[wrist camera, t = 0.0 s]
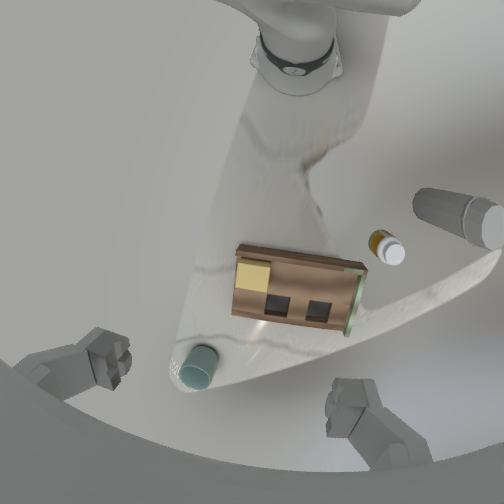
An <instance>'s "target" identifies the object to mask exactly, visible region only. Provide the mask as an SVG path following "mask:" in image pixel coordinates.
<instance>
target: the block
mask: <svg viewBox="0 0 504 504" xmlns="http://www.w3.org/2000/svg"><path fill="white" fill-rule="evenodd" d="M271 264H272V261H268V260H262V259H255V258H248V257H241V258H240V260H239V262H238V266H237V276H236V286H235V288H241V289H247V290H254V291H260V292H266V293H267V288H268V284H269V277H270V270H271Z"/></svg>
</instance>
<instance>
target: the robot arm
mask: <svg viewBox="0 0 504 504" xmlns="http://www.w3.org/2000/svg"><path fill="white" fill-rule="evenodd" d="M215 1H218V2H221V3H224V4H226V5H229V6H231V7H233V8H235V9H237V10H239V11H240V12H242V13H244V14H245V15H247V16H248V17H250V18H251V19H253V20H254V21H255V22H256V23H257V24H258V26H259V31H260V36H258V37H257V39H256V42H257V43H256V46H255V48H254V51H253V53H252V56H251V59H250V63H251V65H252V66H253V67H255V68H256V69H257V70H259V71H260V72H261V73H262V74H263V76H264V78H265V79H266V81H267V82H268V83H269V84H270V85H271V86H272V87H274V88H275V89H277V90H278V91H280V92H283V93H285V94H289V95H296V96H302V95H308V94H312V93H314V92H317V91H318V90H320V89H321V88H323V87H324V86H325V85H326V84H327V83H328V82H329V81H330V80H332V79H335V78H338V77H340V76H341V75H342V73H343V69H342V63H341V57H340V52H339V47H338V42H337V37H336V32H335V31H336V28H337V24H338V17H337V13H336V10H335V8H334V7H337V8H342V9H347V10H352V11H356V12H364V13H373V14H381V15H390V16H402V15H405V14H407V13H409V12H410V11H412V10H413V9H414V8H415V7H416V6H417V5H418V4H419V2H420V1H421V0H215ZM336 66H338V67H336ZM129 346H130V344H129V339H128V338H127V337H125V336H122V335H119V334H116V333H114V332H111V331H108V330H105V329H102V328H99V327H96V328H94V329H93V330H92V331H91V332H90V333H89V334H87V335H86V336H85V337H84V338H83V339H82V340H80V341H79V342H78V343H77V344H76V345H73V344H71V345H66V346H62V347H58V348H54V349H50V350H46V351H42V352H37V353H34V354H29V355H27V356H26V357H25V358H23V359H22V360H21V361H20V362H19V363H17V365H15V366H14V367H13V368H11V367H10V366H9V365H7V364H6V363H5V362H4V361H2V360H1V359H0V504H504V442H502V443H498V444H494V445H492V446H489V447H486V448H483V449H480V450H477V451H474V452H471V453H468V454H464V455H461V456H457V457H453V458H449V459H446V460H441V461H436V462H433V459H432V456H431V453H430V450H429V447H428V445H427V442H426V439H424V438H423V437H422V436H421V435H419V434H418V433H417V432H416V431H414V430H413V429H412V428H411V427H409V426H408V425H407V424H406V423H405V422H403V421H402V420H401V419H400V418H398V417H397V416H396V415H395V414H393V413H392V412H391V411H390V410H389V409H387V408H386V407H384V408H383V406H382V403H381V400H380V397H379V394H378V391H377V387H376V384H375V381H374V380H373V379H351V378H335V380H334V381H333V384H332V390H333V391H331V392H330V393H329V394H328V397H327V399H326V404H325V416H326V417H327V418H328V421H327V423H326V432H327V437H334V438H348V440H349V441H350V443H351V444H352V445H353V446H354V448H355V449H356V450H357V451H358V453H359V454H360V455H361V456H362V458H363V459H364V460H365V461H366V463H367V464H368V465H369V467H370V468H371V469H370V470H369V471H363V472H302V471H301V472H300V471H288V470H276V469H268V468H260V467H253V466H246V465H240V464H234V463H229V462H224V461H219V460H215V459H210V458H206V457H202V456H198V455H194V454H190V453H187V452H183V451H180V450H176V449H173V448H170V447H166V446H163V445H160V444H157V443H154V442H151V441H149V440H146V439H143V438H141V437H138V436H135V435H133V434H130V433H128V432H125V431H123V430H120V429H118V428H116V427H113V426H111V425H109V424H106V423H104V422H102V421H100V420H98V419H96V418H94V417H92V416H90V415H88V414H86V413H84V412H82V411H80V410H78V409H76V408H74V407H72V406H70V405H69V404H67V403H65V402H63V401H64V400H66V399H68V398H70V397H73V396H75V395H77V394H79V393H81V392H84V391H86V390H88V389H90V388H92V387H94V386H96V384H97V385H99V386H102V387H104V388H107V389H110V390H112V391H114V389H115V388H116V387H117V386H118V385H119V383H120V382H121V378H120V377H121V376H124V375H126V374H127V373H128V371H129V370H130V367H131V364H132V357H131V353H130V352H129V351H128V348H129Z"/></svg>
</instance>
